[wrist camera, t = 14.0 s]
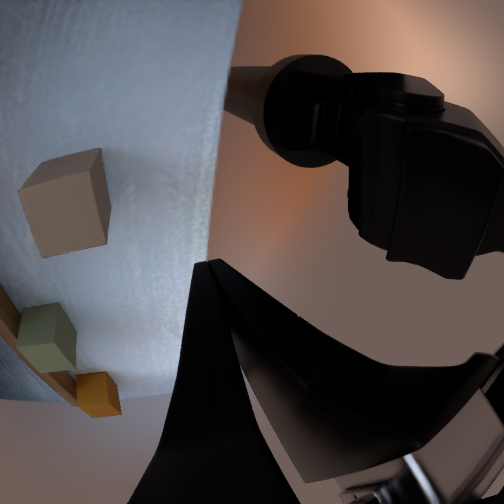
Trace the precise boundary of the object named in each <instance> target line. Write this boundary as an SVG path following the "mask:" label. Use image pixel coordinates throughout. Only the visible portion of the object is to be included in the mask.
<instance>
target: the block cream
mask: <svg viewBox="0 0 504 504" xmlns="http://www.w3.org/2000/svg"><path fill="white" fill-rule="evenodd" d="M18 194H19V198H20V201H21V204H22V207H23V210H24V213H25V216H26V219H27V222H28V225H29V227H30V230H31V233H32V235H33V238H34V240H35V243H36V245H37V248H38V250H39V252H40V255H41V257H42V258H47V257H51V256H55V255H60V254H64V253H69V252H73V251H78V250H83V249H87V248H92V247H97V246H102V245H106V244H107V239H108V229H109V221H110V214H111V204H110V199H109V194H108V189H107V183H106V177H105V171H104V165H103V159H102V152H101V148H96V149H92V150H88V151H83V152H79V153H75V154H71V155H68V156H64V157H60V158H57V159H53V160H50V161H46V162H43V163H41V164H40V165H39V166H38V167H37V169H36V170H35V171H34V172H33V173H32V174H31V175H30V177H29V178H28V179H27V180H26V181H25V183H24V184H23V185H22V186H21V187H20V189H19V190H18Z"/></svg>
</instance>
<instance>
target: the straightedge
mask: <svg viewBox="0 0 504 504" xmlns="http://www.w3.org/2000/svg"><path fill="white" fill-rule="evenodd" d="M21 318H22V317H21V315H20V314H19V313H18V311H17V310H16V308H15V307H14V305H13V304H12V302H11V300H10V299H9V297H8V296H7V294H6V292H5V291H4V289H3V287H2V286H1V284H0V334H1V336H2V337H3V338H4V339H5V341H6V342H7V343H8V344H9V345H10V346H11V348H12V349H13V350H14V351H15V352H16V353H17V354H18V355H19V356H20V358H21V359H22V360H23V361H24V362H25V363H26V364H27V365H28V366H29V367H30V368H31V369H32V370H33V371H34V372H35V373H36V374H37V375H38V376H39V377H40V378H41V379H42V380H43V381H44V382H45V383H46V384H48V385H49V386H50V387H51V388H52V389H53V390H54V391H55V392H57V393H58V394H59V395H60V396H61V397H62V398H64V399H65V400H66V401H67V402H68V403H70V404H71V405H72V406H78V403H77V386H76V382H75V381H74V380H73V379H72V378H71V377H70V376H69V375H68V374H67V373H66V371H58V372H48V373H40V372H39V371H38V370H37V369H36V368H35V367H34V366H33V365H32V364H31V363H30V362H29V361H28V360H27V359H26V358H25V357H24V356H23V355H22V354H21V352H20V351H19V350H18V349H17V348H16V344H17V338H18V332H19V327H20V322H21Z"/></svg>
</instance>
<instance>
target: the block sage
mask: <svg viewBox="0 0 504 504" xmlns="http://www.w3.org/2000/svg"><path fill="white" fill-rule="evenodd" d="M76 343H77V331H76V330H75V328H74V327H73V325H72V324H71V322H70V320H69V319H68V317H67V315H66V314H65V312H64V310H63V309H62V307H61V305H60V304H59V303H54V304H49V305H43V306H38V307H32V308H27V309H23V313H22V318H21V322H20V327H19V332H18V338H17V344H16V348H17V349H18V350H19V351H20V352H21V354H22V355H23V356H24V357H25V358H26V359H27V360H28V361H29V362H30V363H31V364H32V365H33V366H34V367H35V368H36V369H37V370H38V371H39V372H40V373H48V372H58V371H68V370H76Z"/></svg>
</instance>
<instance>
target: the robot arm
mask: <svg viewBox="0 0 504 504" xmlns="http://www.w3.org/2000/svg"><path fill="white" fill-rule="evenodd" d="M296 74H297V75H298V78H297V79H295V77H294V76H295V75H296ZM282 127H283V137H282V147H283V148H284V149H285V150H287V151H322V152H324V153H326V154H328V155H329V156H331V157H333V158H335V159H336V160H338V161H340V162H341V163H343V164H345V165H346V166H348V167H349V189H348V194H347V197H348V212H349V217H350V220H351V221H352V222H353V224H354V225H355V227H356V228H357V229H358V230H359V236H360V237H362V238H363V239H364V240H366V241H367V242H369V243H370V244H372V245H374V246H377V247H379V248H381V249H384V250H387V255H386V259H387V260H388V261H393V262H407V263H411V264H415V265H419V266H421V267H424V268H426V269H428V270H430V271H432V272H434V273H436V274H438V275H440V276H441V277H444V278H446V279H456V280H461V279H463V278H464V277H465V275H466V273H467V271H468V269H469V267H470V265H471V263H472V261H473V259H474V257H475V256H479V255H483V254H487V253H491V252H496V251H497V252H501V253H504V148H503V146H502V145H501V144H500V143H499V141H498V140H497V139H496V138H495V137H494V135H493V134H492V133H491V132H490V131H489V130H488V128H486V126H485V125H484V124H483V123H482V122H481V121H480V120H479V119H478V118H477V117H476V116H475V115H474V113H472V112H471V111H470V110H469V109H467V108H464V107H461V106H458V105H455V104H452V103H449V102H445V101H444V94H443V93H442V92H441V91H440V90H438V89H437V88H436V87H435V86H434V85H432V84H431V83H430V82H428V81H427V80H426V79H424V78H420V77H416V76H411V75H406V74H401V73H393V72H392V73H391V72H365V73H344V79H340V78H335V77H330V76H325V75H320V74H315V73H309V72H303V71H291V72H290V74H289V79H288V89H287V95H286V96H285V102H284V112H283V121H282ZM288 142H290V145H289V146H287V144H288ZM181 347H182V348H181V350H180V358H179V364H178V370H177V376H176V380H175V385H174V389H173V393H172V397H171V401H170V405H169V409H168V412H167V416H166V420H165V424H164V428H163V432H162V436H161V438H160V441H159V445H158V447H157V450H156V452H155V455H154V456H153V458H152V460H151V462H150V463H149V465H148V467H147V469H146V471H145V473H144V474H143V476H142V478H141V480H140V482H139V483H138V485H137V487H136V489H135V491H134V492H133V494H132V496H131V498H130V500H129V502H128V503H127V504H301V503H300V502H299V500H298V498H297V497H296V495H295V493H294V492H293V490H292V488H291V487H290V485H289V483H288V481H287V480H286V478H285V476H284V474H283V473H282V471H281V469H280V467H279V465H278V464H277V462H276V460H275V458H274V456H273V454H272V452H271V450H270V449H269V447H268V445H267V443H266V441H265V439H264V437H263V435H262V433H261V431H260V429H259V427H258V424H257V421H256V418H255V415H254V412H253V410H252V405H251V402H250V399H249V395H248V392H247V388H246V385H245V382H244V378H243V374H242V371H241V368H242V370H243V372H244V374H245V376H246V378H247V380H248V382H249V384H250V386H251V388H252V390H253V392H254V394H255V396H256V398H257V400H258V401H259V403H260V405H261V407H262V409H263V411H264V413H265V415H266V416H267V418H268V420H269V422H270V424H271V426H272V427H273V429H274V431H275V433H276V434H277V436H278V438H279V440H280V442H281V444H282V445H283V447H284V449H285V451H286V452H287V454H288V456H289V457H290V459H291V461H292V463H293V464H294V466H295V468H296V469H297V471H298V472H299V474H300V476H301V477H302V479H303V481H304V482H305V483H311V482H317V481H322V480H327V479H331V478H335V480H336V482H337V484H338V485H339V487H340V489H341V490H342V493H340V494H339V497H340V499H341V500H342V502H343V503H344V504H504V486H503V488H502V489H501V491H500V492H499V493H498V494H497V495H494V496H491V497H487V498H484V499H482V498H481V497H482V496H483V495H484V494H485V493H486V491H487V490H488V489H489V487H490V486H491V485H492V483H493V482H494V481H495V479H496V478H497V476H498V475H499V474H500V472H501V471H502V469H503V468H504V343H503V344H502V345H501V346H500V347H499V348H498V349H497V350H496V351H495V352H494V353H493V354H489V353H482V352H475V353H474V354H472V355H471V356H470V357H469V358H468V359H467V360H466V361H465V362H464V363H463V364H460V365H456V366H443V367H423V366H422V367H421V366H393V365H387V364H383V363H380V362H377V361H375V360H373V359H371V358H368V357H367V356H365V355H363V354H361V353H359V352H357V351H355V350H354V349H352V348H350V347H348V346H346V345H344V344H343V343H341V342H339V341H337V340H335V339H334V338H332V337H330V336H329V335H327V334H325V333H323V332H322V331H320V330H319V329H317V328H316V327H314V326H313V325H311V324H310V323H308V322H307V321H305V320H304V319H303V318H301V317H298V315H297V314H296V313H294V312H293V311H291V310H290V309H288V308H287V307H286V306H284V305H283V304H282V303H280V302H279V301H277V300H276V299H274V298H273V297H272V296H270V295H269V294H268V293H266V292H265V291H264V290H262V289H261V288H260V287H258V286H257V285H255V284H254V283H253V282H251V281H250V280H249V279H247V278H246V277H245V276H243V275H242V274H241V273H239V272H238V271H237V270H235V269H234V268H233V267H231V266H230V265H228V264H227V263H226V262H224V261H223V260H222V259H213V260H209V261H208V262H207V261H203V262H198V263H195V264H194V268H193V274H192V279H191V285H190V291H189V297H188V303H187V310H186V316H185V323H184V330H183V337H182V344H181ZM240 366H241V367H240Z"/></svg>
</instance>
